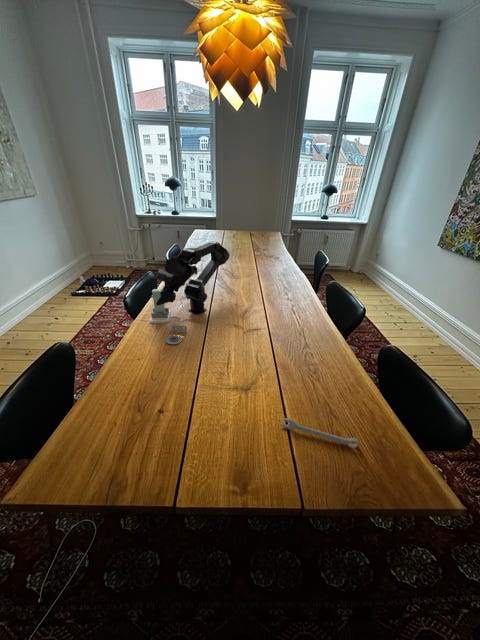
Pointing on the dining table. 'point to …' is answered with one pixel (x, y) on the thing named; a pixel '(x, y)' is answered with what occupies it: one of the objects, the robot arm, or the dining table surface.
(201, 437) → the dining table surface
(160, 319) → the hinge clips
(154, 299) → the cabinet door
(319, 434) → the combination wrench
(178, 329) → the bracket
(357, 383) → the dining table surface
